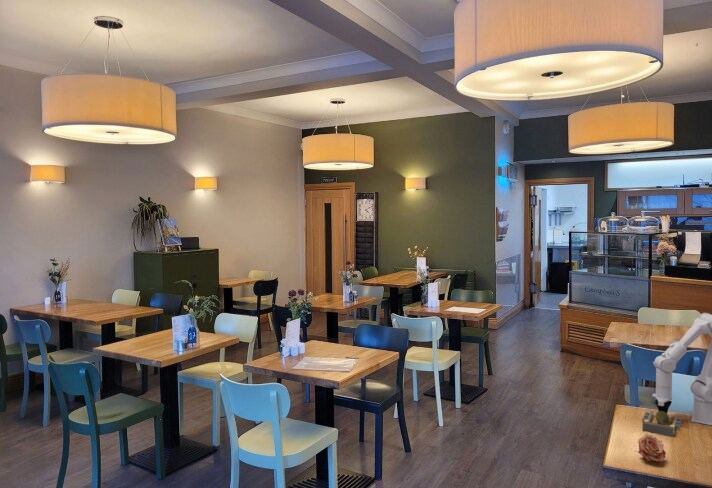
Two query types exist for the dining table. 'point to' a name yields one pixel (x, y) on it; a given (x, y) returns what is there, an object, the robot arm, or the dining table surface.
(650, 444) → the flower
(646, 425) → the grey u-shaped block
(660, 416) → the lime
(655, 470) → the dining table surface
